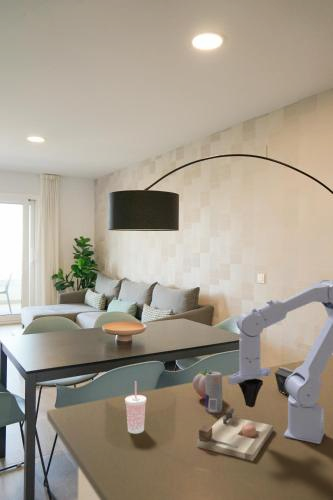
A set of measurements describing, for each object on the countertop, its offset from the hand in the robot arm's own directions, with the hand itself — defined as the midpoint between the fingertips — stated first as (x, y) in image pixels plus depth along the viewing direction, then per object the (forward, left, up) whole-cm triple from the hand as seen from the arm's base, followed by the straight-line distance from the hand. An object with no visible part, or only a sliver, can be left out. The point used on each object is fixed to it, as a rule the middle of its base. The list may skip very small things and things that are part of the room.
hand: (250, 405), depth 113 cm
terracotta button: (0, +1, -8) cm, 9 cm away
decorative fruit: (+22, -20, -9) cm, 31 cm away
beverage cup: (+30, +12, -9) cm, 33 cm away
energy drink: (+16, -12, -9) cm, 22 cm away
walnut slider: (+9, +10, -7) cm, 15 cm away
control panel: (+3, +3, -9) cm, 9 cm away
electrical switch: (-2, -38, -9) cm, 39 cm away
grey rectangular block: (+8, -4, -6) cm, 11 cm away
